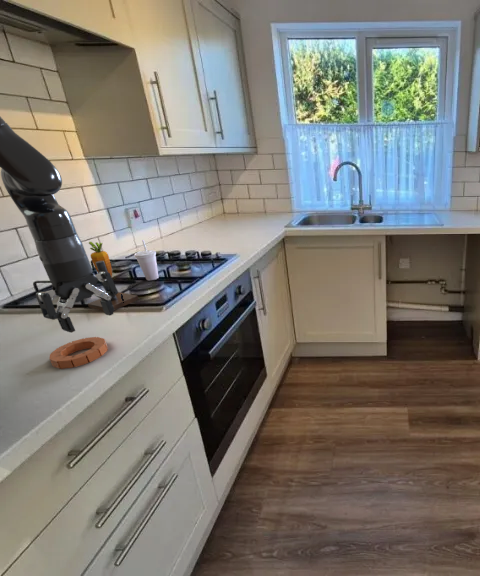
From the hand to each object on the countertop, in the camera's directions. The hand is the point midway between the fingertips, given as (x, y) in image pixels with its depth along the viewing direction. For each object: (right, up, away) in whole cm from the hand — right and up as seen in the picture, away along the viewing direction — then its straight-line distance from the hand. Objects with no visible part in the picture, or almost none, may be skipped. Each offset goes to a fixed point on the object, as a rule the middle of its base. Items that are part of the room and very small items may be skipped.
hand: (91, 322), depth 84 cm
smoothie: (-14, +11, +44) cm, 47 cm away
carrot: (-27, +10, +41) cm, 50 cm away
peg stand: (-13, +3, +25) cm, 28 cm away
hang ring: (-2, -8, -1) cm, 8 cm away
